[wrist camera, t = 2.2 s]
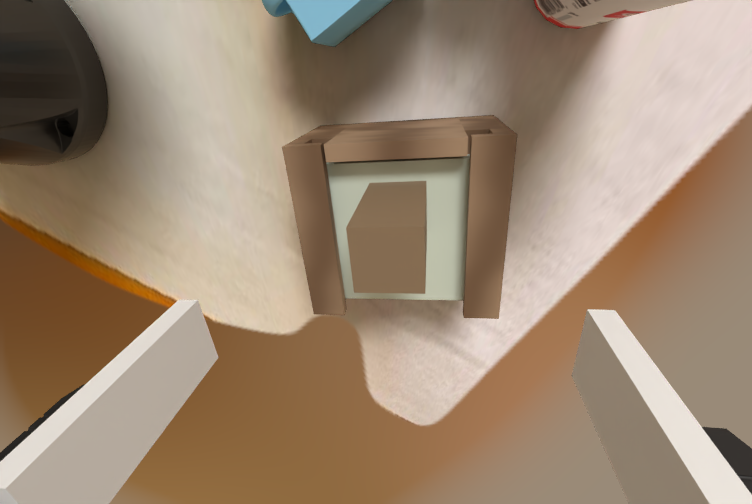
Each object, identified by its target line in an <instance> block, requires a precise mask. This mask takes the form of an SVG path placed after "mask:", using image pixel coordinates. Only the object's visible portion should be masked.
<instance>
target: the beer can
mask: <svg viewBox="0 0 752 504" xmlns="http://www.w3.org/2000/svg"><path fill="white" fill-rule="evenodd" d="M687 1H691V0H534V2H535V5H536V8H537V9H538V10H539V11H540V13H541V14H542V15H543V16H544V18H545V19H546V20H547V21H549V22H551V23H553V24H555V25H557V26H559V27H564V28H574V29H579V28H583V27H587V26H591V25H595V24H599V23H603V22H607V21H611V20H615V19H619V18H623V17H627V16H631V15H635V14H639V13H643V12H647V11H651V10H655V9H659V8H663V7H667V6H671V5H675V4H679V3H683V2H687Z"/></svg>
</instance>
